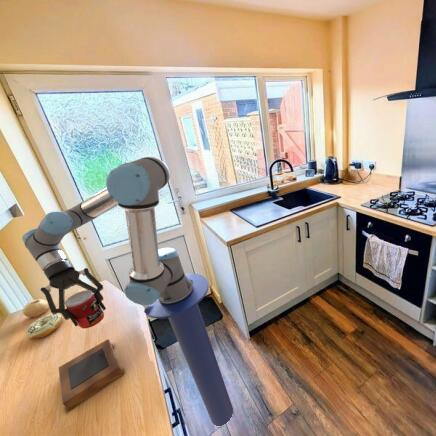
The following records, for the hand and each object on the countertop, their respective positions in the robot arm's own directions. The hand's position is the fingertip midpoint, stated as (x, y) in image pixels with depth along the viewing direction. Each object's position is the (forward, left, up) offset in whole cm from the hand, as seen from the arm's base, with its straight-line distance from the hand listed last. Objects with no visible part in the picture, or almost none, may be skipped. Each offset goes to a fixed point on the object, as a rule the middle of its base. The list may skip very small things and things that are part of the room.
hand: (91, 316), depth 86 cm
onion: (+18, -43, -12) cm, 49 cm away
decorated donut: (+16, -27, -12) cm, 34 cm away
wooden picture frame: (+6, +13, -12) cm, 18 cm away
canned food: (0, -3, -4) cm, 5 cm away
